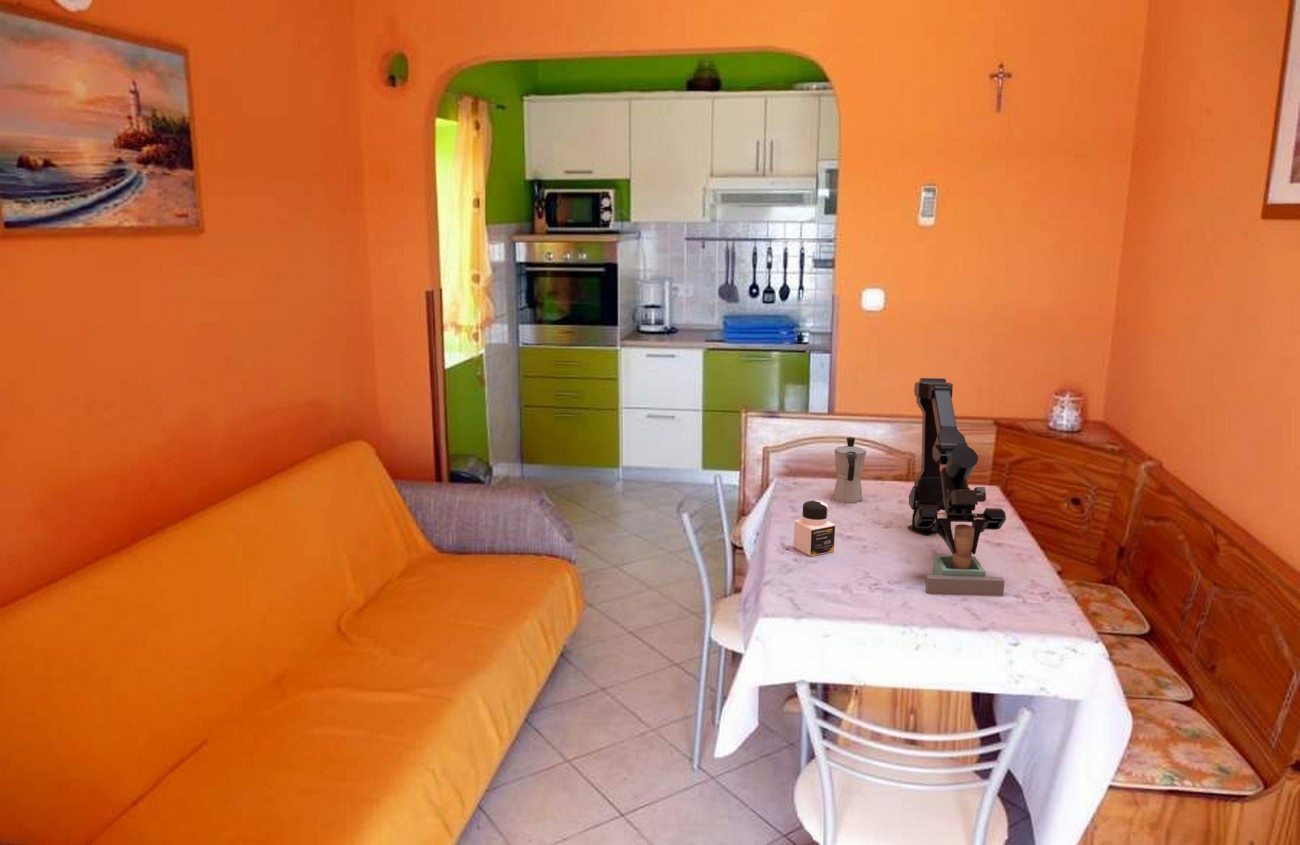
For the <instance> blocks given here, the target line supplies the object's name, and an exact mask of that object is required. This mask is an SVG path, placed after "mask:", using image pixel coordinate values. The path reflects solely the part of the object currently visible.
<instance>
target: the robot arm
mask: <svg viewBox="0 0 1300 845" xmlns="http://www.w3.org/2000/svg"><path fill="white" fill-rule="evenodd" d="M953 385H954V383H952V382H947V380H946V378H942V377H941V378H940V377H939V378H935V377H930V378H929V377H920V378H919V380H918V382H917V381H916V382H915V383H914V387H913V388H914V389H913V392H914V393H913V394H914V396H915V397H916V400H915V401H916V402H915V403H916V405H918V408H919V409H920V411H921V413H922V423H921V424H922V426H921V427H922V430H921V465H920V467H921V468H920V469H921V470H920V471H919V472H918V474H917V475H916V477H915V478H914V483H913V485H914V486H912V487H911V489H910V493H909V495H908V506H910V508H911V510H913V512H912V515H911V516H912V518H911V519H912V520H911V525H908V526H907V529H909V530H911V531H913V532H916V533H918V534H921V535H922V536H923V535H924V536H929V535H933V534H938V535H939V536H940V538H941V539H942V540H943V542H944V543H945V544H946V546H947V547H948V549H949V551H950V553H952V554H955V544H954V535H953V531H952V522H954V523H955V522H956V523H957V522H958V523H971V526H972V527H974V538H973V548H972V555H976V552H977V548H978V543H979V540H980V535H981V533H983V532H985V530H988V531H989V530H993V531H995V530H996V531H997V530H1000V529H1001V528H1002V526H1003V525H1004V524H1005V522H1006V520H1007V516H1006V512H1005V511H1004V509H1003V508H997V507H987V508H985V509H984V511H983V512H982V513H976V512H975V513H974V512H973V511H975V510H976V506H978V504H979V503H984V502H986V501H987V491H986V487H985V486H976V487H974V489H971V488H970V487H969V480H968V479H969V478H971V476H972V473H973V472H974V469H975V468H976V465H977V463H978V462H979V455H978V454H977V452H976V451H975V450H974V449H973V448H971V447H970V446H969V445H968V443H967V442H966V438H965V436H964V434H963V433H961V431H959V430H958V427H957V421H956V416H955V411H954V404H953V400H952V398H953V389H954V388H953ZM941 465H943V466H944V465H945V466H944V467H943V468H942V469H941Z"/></svg>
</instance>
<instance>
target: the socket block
mask: <svg viewBox="0 0 1300 845" xmlns="http://www.w3.org/2000/svg"><path fill="white" fill-rule="evenodd" d="M951 564H952V555H951V554H950V555H949V554H948V555H947V554H946V555H945V554H943V555H942V554H934V555H933V564H932V565H933V567H932V575H944V576H977V577H986V570H985V569H984V567H983V566H982V565H981V563H980V562H979V560H978V559H977V558H976V556H974V555H972V557H971V566H970V569H951Z"/></svg>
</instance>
